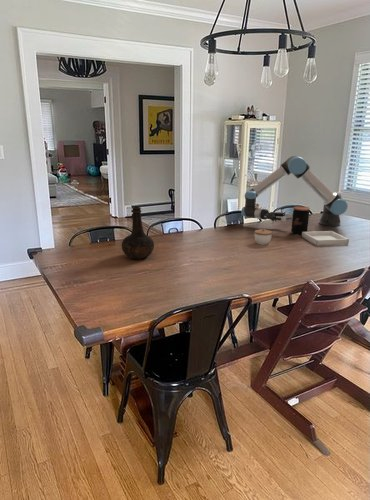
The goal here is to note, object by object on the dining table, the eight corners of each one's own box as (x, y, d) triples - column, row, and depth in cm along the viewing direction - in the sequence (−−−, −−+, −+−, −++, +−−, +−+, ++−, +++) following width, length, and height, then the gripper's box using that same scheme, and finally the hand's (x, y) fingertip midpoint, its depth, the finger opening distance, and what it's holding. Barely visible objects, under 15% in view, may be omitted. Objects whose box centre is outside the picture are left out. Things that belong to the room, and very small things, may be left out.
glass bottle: (147, 250, 219) (146, 203, 210) (159, 259, 203) (158, 208, 195) (118, 254, 211) (115, 205, 203) (127, 263, 196) (125, 211, 187)
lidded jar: (266, 246, 227) (267, 231, 224) (250, 243, 233) (251, 229, 231) (274, 243, 235) (275, 228, 233) (258, 240, 242) (259, 226, 239)
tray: (330, 235, 253) (331, 230, 252) (348, 244, 233) (349, 239, 232) (301, 236, 250) (302, 231, 249) (316, 245, 230) (317, 240, 229)
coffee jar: (287, 232, 262) (290, 206, 256) (299, 230, 266) (302, 205, 261) (298, 235, 252) (300, 209, 247) (310, 234, 257) (313, 208, 251)
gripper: (268, 216, 283) (295, 220, 271) (253, 222, 264) (282, 226, 252) (269, 206, 281) (296, 209, 269) (254, 211, 262) (283, 215, 249)
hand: (289, 217), depth 260 cm, fingers open, 13 cm apart
